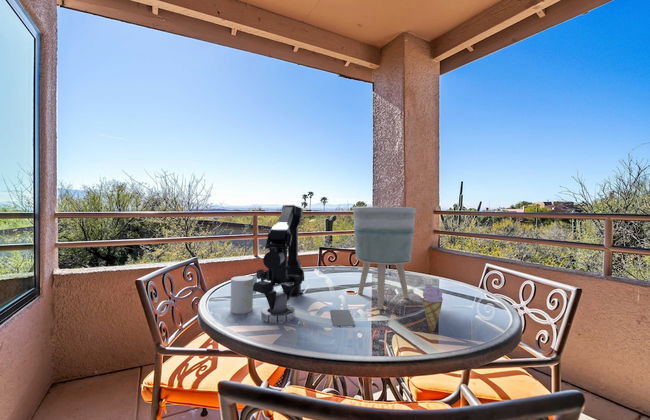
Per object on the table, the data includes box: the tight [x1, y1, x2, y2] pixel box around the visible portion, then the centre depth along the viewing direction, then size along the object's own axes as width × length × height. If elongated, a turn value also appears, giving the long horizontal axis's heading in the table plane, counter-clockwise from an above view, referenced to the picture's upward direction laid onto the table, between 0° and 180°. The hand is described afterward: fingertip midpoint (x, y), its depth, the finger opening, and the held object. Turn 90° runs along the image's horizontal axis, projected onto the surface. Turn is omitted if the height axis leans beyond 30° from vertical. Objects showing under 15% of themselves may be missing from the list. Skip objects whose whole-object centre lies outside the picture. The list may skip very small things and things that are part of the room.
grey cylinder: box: [230, 275, 254, 315], centre depth 109 cm, size 8×8×12 cm
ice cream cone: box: [422, 284, 444, 332], centre depth 93 cm, size 7×6×15 cm
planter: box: [352, 206, 416, 310], centre depth 124 cm, size 26×26×40 cm
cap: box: [270, 291, 288, 314], centre depth 102 cm, size 6×6×7 cm
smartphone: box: [329, 309, 356, 328], centre depth 102 cm, size 8×1×15 cm
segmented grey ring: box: [260, 304, 296, 324], centre depth 102 cm, size 12×12×2 cm
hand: (278, 307), depth 102 cm, fingers closed on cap, 6 cm apart
